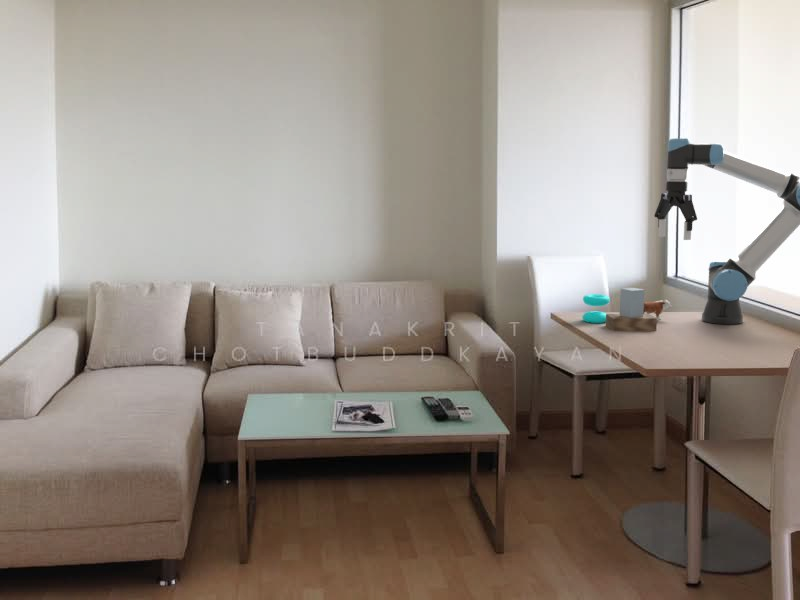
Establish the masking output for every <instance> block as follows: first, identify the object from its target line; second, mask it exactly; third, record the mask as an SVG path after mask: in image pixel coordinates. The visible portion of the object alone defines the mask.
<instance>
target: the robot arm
mask: <svg viewBox="0 0 800 600" xmlns="http://www.w3.org/2000/svg"><path fill="white" fill-rule="evenodd" d="M724 149H725V148H724V146H723V144H721V143H691V142H690V138H685V137H684V138H681V137H680V138H675V137H674V138H670V139H669V141H668V146H667V157H666V158H667V163H666V164H667V165H666V180H667V181H666V183H665V185H666V186H665V190H666V192H663V193H662V192H661V196H660V200H659V203H658V204H657V206H656V207H657V208H656V210H655V213H654V216H653V217H654V218H657V219H658V220H657V222H658V224H657V227H658V238H663V237H665V238H666V232H667V231H666V229H667V218H666V217H667V215H668V214H669V212H670V211H671V210H672V208H674V207H678V209H680V212H681V213H682V216H683V218H684V219H685V221H684V223H683V241H689V240H691V238H692V231H693V222H694V221H697V220H698V217H697V216H698V215H697V213H696V209H695V206H694V204H693V195H692V194H686V192H687V191H688V185H689V183H688V180H689V165H690V166H691V165H692V166H693V165H699V166H700V165H702V166H705V167H708V168H710V169H713V170H715V171H718V172H721V173H723V174H727V175H728V176H731V177H733V178H736V179H738V180H741V181H744V182H746V183H749V184H752V185H754V186H757V187H759V188H762V189H763V190H767V191H770V192H773V193H775V194H776V196H777V197H778V198H781V199H783V200H782V203H783V204H782V205H783V206H782V208H781V209H780V210H779V211H778V212H777V213H776V214H775V215H774V216H773V217H772V218H771V219H770V221H769V222H768V223H767V224H766V225H765V226H764V227H763V228H762V229H761V230H760V232H758V234H756V236H755V237H754V238H753V239H752V240H751V241H750V242H749V243H748V244H747V246H745V248H744V249H743V250H742V251H741V252H740V253H739V254H738V255H737V256H735V257H734V256H733V257H730V258H729V259H728V260H727V261H711V262H710V263H709V267H708V283H707V284H708V286H707V301H706V303H705V306H704V309H703V312H702V313H701V320H702V321H703V322H706V323H711V324H717V325H718V324H719V325H720V324H721V325H737V324H742V323H743V322H744V315H743V312H742V308H741V304H740V299H741V298H742V297H743V296H744V295H745V293H746V292H747V290H748V287H749V286H750V285H751V284H752V283H753V282H754V281H755V280H756V278H757V277H756V272H757V271H758V270H759V269H760V268H761V267H762V266H763V265H764V264H765V263H766V261H768V259H769V258H770V257H771V256H772V255H773V254H774V253H775V252H776V251H777V250H778V249H779V248H780V247H781V246H782V244H784V242H785V241H786V240H787V239H788V238H789V237H790V236H791V235H792V234H793V233H794V232H795V231H796V230H797V229H798V227H799V226H800V175H796V174H793V173H791V172H788V173H783V172H780V171H778V170H775V169H772V168H770V167H767V166H765V165H762V164H761V163H760V164H759V163H756V162H755V161H752V160H750V159H749V160H748V159H747V158H743V157H741V156H739V155H736V154H734V153H733V154H732V153H731V152H728V151H725V150H724Z"/></svg>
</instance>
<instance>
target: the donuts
mask: <svg viewBox="0 0 800 600" xmlns="http://www.w3.org/2000/svg"><path fill="white" fill-rule="evenodd" d="M582 300H583V303H584V304H586V305H588V306H590V307H591V306H592V307H604V306H607V305H608V304H609V303H610V300H611V299H610V297H609V296H607V295H604V294H593V293H591V294H587V295H584V296H583V298H582ZM606 314H607V313H605V312H604V311H599V310H598V311H595V310H593V311H591V310H590V311H587V312H586V311H585V312H584V314H582V316H581V317H582V321H584V322H586V323H589V322H591V324H604V322H605V323H606Z"/></svg>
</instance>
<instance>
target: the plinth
mask: <svg viewBox="0 0 800 600" xmlns="http://www.w3.org/2000/svg"><path fill="white" fill-rule="evenodd" d="M657 322H658V321H657V318H656V316H653V315H652V314H651V313H650V314H647V313H644V314H643V317H635V318H629V317H625V316H620V313H606V322H605V326H606V327H607V329H609V330H611V331H613V332H634V331H635V332H638V331H640V332H644V331H645V332H647V331H649V332H651V331H653V332H654V331H657V324H658V323H657Z"/></svg>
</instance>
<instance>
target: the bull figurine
mask: <svg viewBox="0 0 800 600" xmlns="http://www.w3.org/2000/svg"><path fill="white" fill-rule="evenodd" d="M671 308H672V304H671V302H670V301H668V300H667V299H665V300H656V301H644V309H643V314H650V315H651V314H655V318H657V322H658V321H661V320H662V319H661V317H660V315H661V314H663V313H664V312H665V311H666V310H668V309H671Z"/></svg>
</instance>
